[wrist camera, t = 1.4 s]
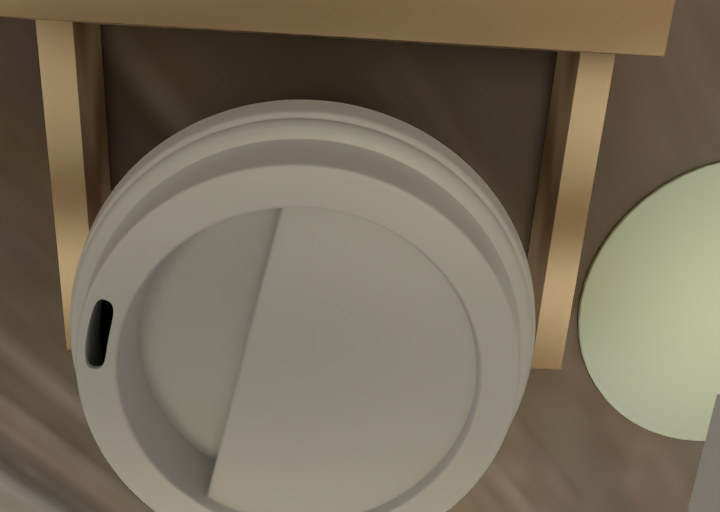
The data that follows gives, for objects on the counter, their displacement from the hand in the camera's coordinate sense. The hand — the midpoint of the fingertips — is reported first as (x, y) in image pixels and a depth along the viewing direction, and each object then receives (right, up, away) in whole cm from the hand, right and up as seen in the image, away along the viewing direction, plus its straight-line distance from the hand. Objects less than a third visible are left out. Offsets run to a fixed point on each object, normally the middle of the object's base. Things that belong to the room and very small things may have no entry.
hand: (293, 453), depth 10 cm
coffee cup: (0, +6, +16) cm, 17 cm away
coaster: (+17, +1, +18) cm, 24 cm away
